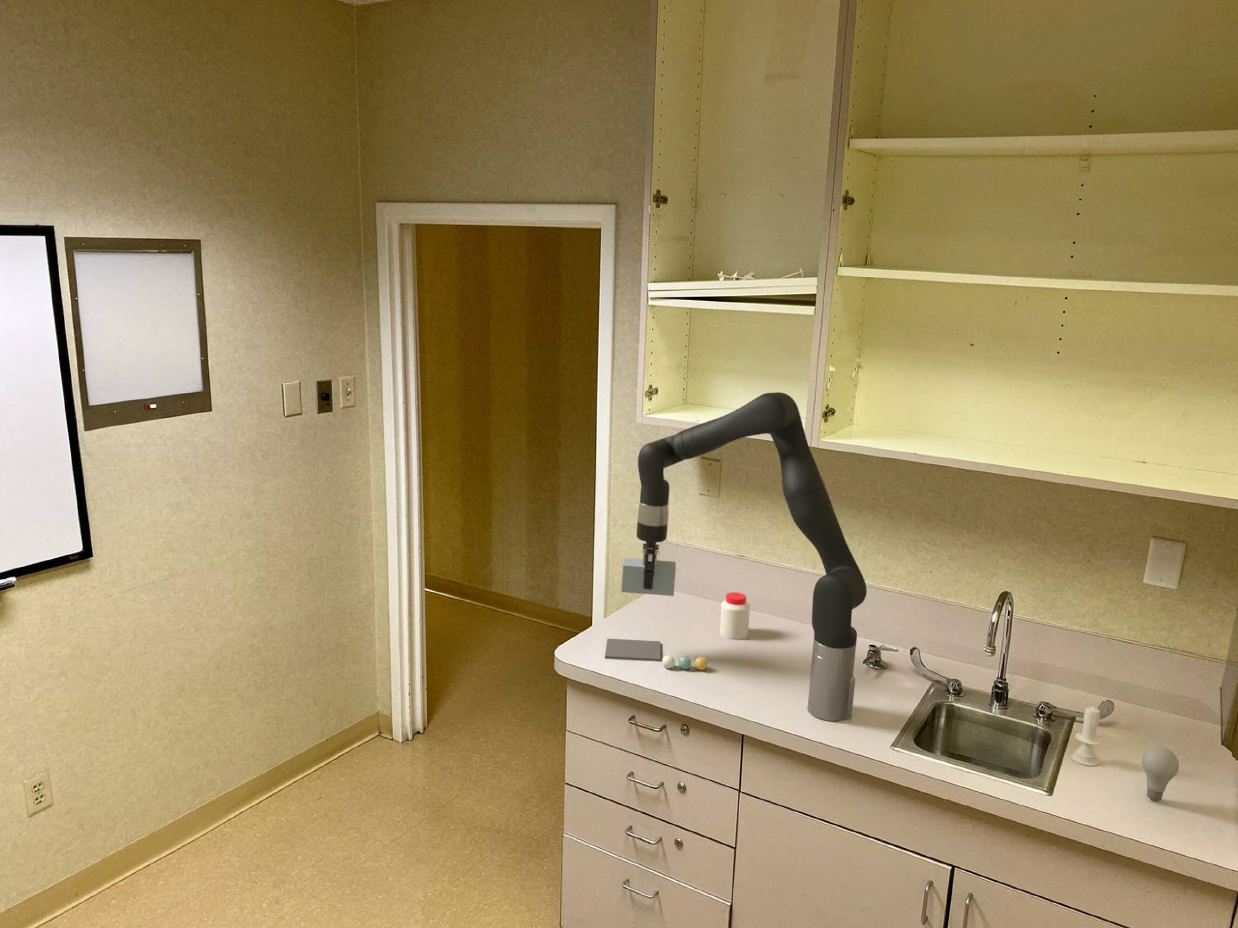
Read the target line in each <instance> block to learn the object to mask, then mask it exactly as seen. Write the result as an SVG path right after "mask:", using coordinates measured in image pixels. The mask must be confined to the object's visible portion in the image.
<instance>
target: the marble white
mask: <svg viewBox="0 0 1238 928" xmlns="http://www.w3.org/2000/svg"><path fill="white" fill-rule="evenodd" d="M661 663H662V666H663V667H664V668H665V669H672V668H673V667H675V665H676V660H675V657H674V656H673V655H670V654H667V655H664V657H663V658H662V660H661Z"/></svg>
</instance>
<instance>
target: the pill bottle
mask: <svg viewBox="0 0 1238 928" xmlns="http://www.w3.org/2000/svg"><path fill="white" fill-rule="evenodd" d="M750 610H751V605H750V603H748V601H747V595H746V594H744V593H741V592H732V591H731V592H727V593H726V595H725V599H724V600H723V601H722V602H721V604H720V619H719V634H720V636H721V637H723V638H725V639H727V640H736V641H737V640H743V639H744V640H745V639H746V638H747V637H748V636H749V625H750V623H749V622H750V614H751V612H750Z"/></svg>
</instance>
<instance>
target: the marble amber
mask: <svg viewBox="0 0 1238 928" xmlns="http://www.w3.org/2000/svg"><path fill="white" fill-rule="evenodd" d="M694 667H695V668H696V669H697V670H698V671H703V670H705V669H706V668H708V660H707V658H705V657H704V656H698V657H696V659H695V660H694Z"/></svg>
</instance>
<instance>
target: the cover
mask: <svg viewBox="0 0 1238 928" xmlns="http://www.w3.org/2000/svg"><path fill="white" fill-rule="evenodd" d="M644 567H645V566H644V565H643V558H642V559H641V558H630V557H628V558H627V557H624V558H623V564H622V577H621V591H620V592H621V593H627V594H628V593H630V594H641V595H654V596H656V595H657V596H669V597H674V596H675V581H676V571H677V570H676V569H677V568H676V567H677V565H676V561H673V560H672V561H669V560H658V559H657V564H656V566H655V567H654V572H655V574H654V576H653V586H652V589H651V590H649V589H644V588H643V587H644ZM646 570H651V571H652V567H647V568H646Z"/></svg>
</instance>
